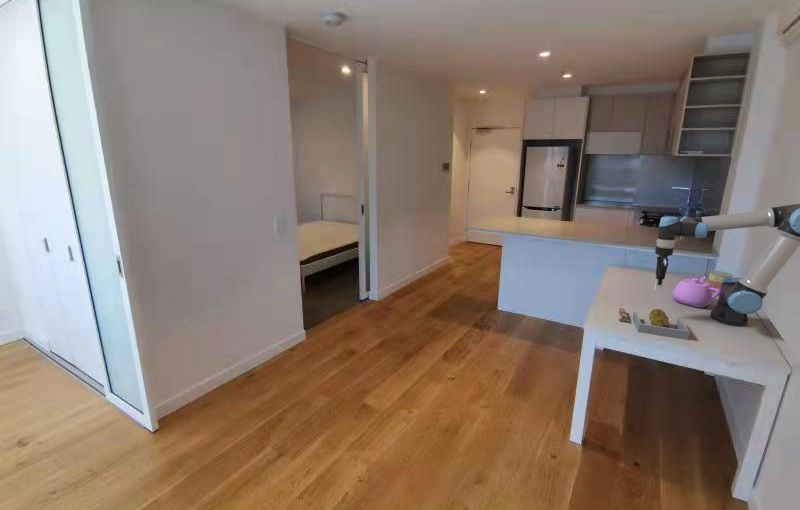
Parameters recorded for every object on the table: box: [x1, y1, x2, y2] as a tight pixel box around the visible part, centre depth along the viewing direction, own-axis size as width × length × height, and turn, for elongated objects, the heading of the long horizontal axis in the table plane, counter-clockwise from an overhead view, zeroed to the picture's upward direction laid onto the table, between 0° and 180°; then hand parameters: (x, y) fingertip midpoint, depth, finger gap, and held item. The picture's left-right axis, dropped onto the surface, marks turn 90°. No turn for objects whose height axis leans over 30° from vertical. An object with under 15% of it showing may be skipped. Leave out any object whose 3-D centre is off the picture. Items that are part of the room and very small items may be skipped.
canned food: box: [706, 270, 734, 294], centre depth 237 cm, size 11×11×12 cm
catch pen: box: [632, 311, 691, 341], centre depth 186 cm, size 20×16×4 cm
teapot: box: [672, 275, 720, 308], centre depth 218 cm, size 23×21×15 cm
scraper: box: [618, 307, 631, 324], centre depth 199 cm, size 14×5×2 cm, turn 157°
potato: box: [648, 308, 670, 328], centre depth 188 cm, size 8×13×8 cm, turn 147°
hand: (657, 290), depth 199 cm, fingers closed
